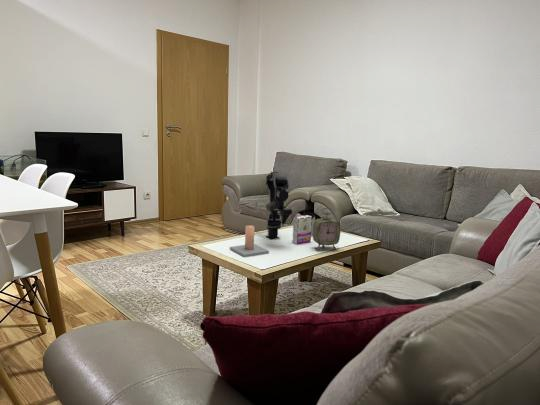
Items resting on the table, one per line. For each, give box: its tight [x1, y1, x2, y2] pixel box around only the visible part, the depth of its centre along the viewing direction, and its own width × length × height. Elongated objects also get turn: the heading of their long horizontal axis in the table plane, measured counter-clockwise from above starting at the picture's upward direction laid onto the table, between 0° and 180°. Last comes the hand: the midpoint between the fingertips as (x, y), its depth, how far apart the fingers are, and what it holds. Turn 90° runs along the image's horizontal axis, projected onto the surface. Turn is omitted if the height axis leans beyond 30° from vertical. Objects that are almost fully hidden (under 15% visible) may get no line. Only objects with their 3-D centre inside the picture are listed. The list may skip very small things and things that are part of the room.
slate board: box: [229, 243, 270, 258], centre depth 244 cm, size 16×16×2 cm
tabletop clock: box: [312, 207, 341, 251], centre depth 254 cm, size 14×9×25 cm, turn 106°
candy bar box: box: [292, 215, 312, 245], centre depth 266 cm, size 11×5×16 cm, turn 126°
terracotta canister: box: [244, 224, 256, 250], centre depth 243 cm, size 5×5×13 cm
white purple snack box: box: [294, 211, 316, 238], centre depth 286 cm, size 9×14×15 cm, turn 71°
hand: (278, 223), depth 259 cm, fingers open, 9 cm apart
